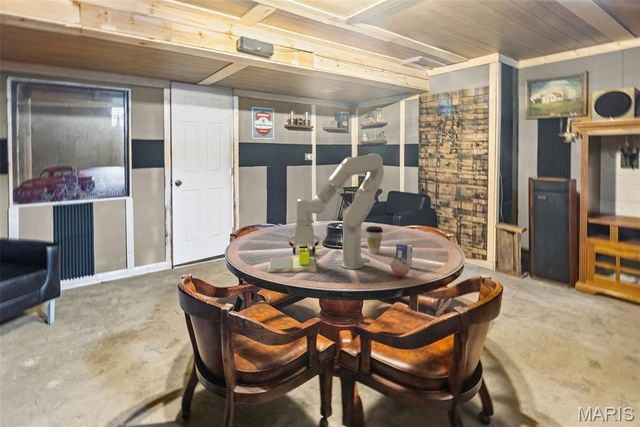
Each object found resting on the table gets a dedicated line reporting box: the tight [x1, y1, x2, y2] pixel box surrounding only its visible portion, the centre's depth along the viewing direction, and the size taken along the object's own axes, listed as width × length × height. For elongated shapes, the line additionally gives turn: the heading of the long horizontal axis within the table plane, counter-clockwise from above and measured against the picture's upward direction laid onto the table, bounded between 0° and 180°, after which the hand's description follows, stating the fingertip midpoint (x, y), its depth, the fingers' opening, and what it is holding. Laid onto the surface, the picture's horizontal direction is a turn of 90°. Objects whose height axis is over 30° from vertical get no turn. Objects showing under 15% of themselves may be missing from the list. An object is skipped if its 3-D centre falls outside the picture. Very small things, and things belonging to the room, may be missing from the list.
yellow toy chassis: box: [297, 244, 311, 265], centre depth 207 cm, size 16×6×8 cm, turn 6°
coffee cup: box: [365, 225, 384, 255], centre depth 231 cm, size 10×10×15 cm
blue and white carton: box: [395, 243, 414, 269], centre depth 204 cm, size 8×3×12 cm, turn 61°
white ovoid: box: [295, 244, 312, 253], centre depth 232 cm, size 9×10×15 cm
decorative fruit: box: [390, 257, 411, 278], centre depth 188 cm, size 9×8×10 cm
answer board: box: [267, 256, 317, 273], centre depth 206 cm, size 24×22×2 cm
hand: (304, 254), depth 206 cm, fingers open, 9 cm apart
